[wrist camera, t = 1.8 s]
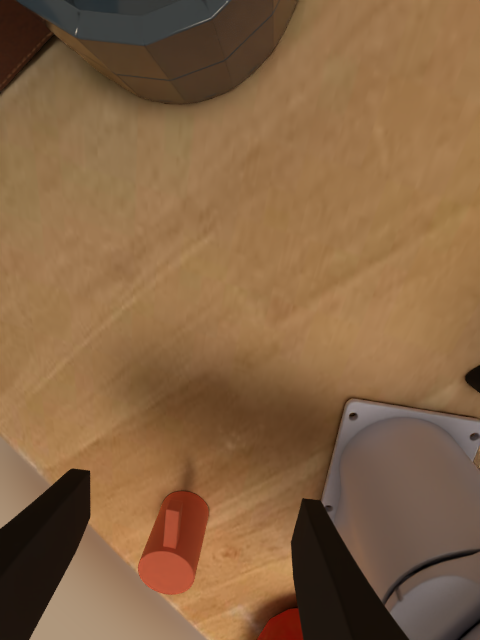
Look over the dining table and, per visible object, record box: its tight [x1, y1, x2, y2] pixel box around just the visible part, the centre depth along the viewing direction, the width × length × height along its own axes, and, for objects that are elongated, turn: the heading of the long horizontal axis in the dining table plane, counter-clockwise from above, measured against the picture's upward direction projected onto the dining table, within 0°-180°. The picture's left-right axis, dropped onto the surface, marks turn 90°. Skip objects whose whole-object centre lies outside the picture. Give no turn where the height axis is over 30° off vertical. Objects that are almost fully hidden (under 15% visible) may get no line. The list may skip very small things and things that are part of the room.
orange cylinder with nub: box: [138, 491, 209, 595], centre depth 21 cm, size 6×3×4 cm, turn 173°
